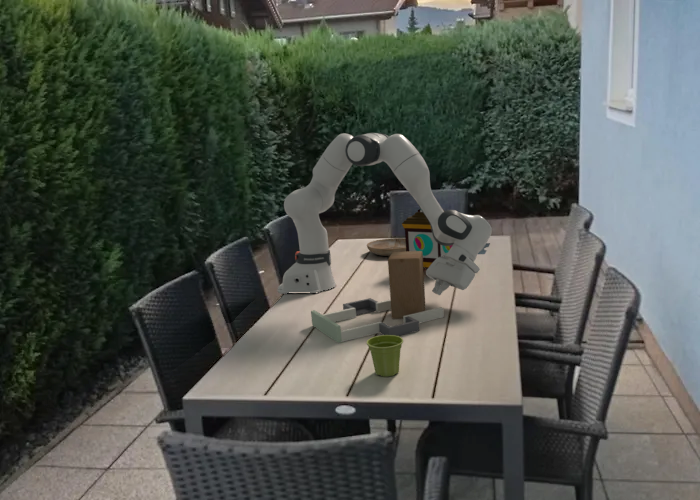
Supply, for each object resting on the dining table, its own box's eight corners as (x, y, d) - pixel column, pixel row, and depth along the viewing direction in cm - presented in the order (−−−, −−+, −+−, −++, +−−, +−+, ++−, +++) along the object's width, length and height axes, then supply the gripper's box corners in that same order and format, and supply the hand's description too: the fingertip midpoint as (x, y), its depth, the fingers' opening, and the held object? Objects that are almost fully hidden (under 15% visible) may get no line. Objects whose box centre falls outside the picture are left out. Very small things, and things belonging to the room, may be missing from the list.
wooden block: (422, 319, 218) (419, 257, 213) (391, 319, 220) (387, 258, 216) (425, 309, 227) (422, 250, 223) (395, 309, 229) (392, 251, 225)
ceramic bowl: (403, 261, 296) (403, 249, 295) (357, 257, 309) (357, 247, 308) (428, 249, 315) (427, 238, 314) (384, 246, 328) (383, 236, 327)
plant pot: (367, 367, 182) (364, 336, 180) (402, 363, 183) (400, 333, 181) (371, 381, 173) (368, 349, 171) (408, 377, 174) (405, 345, 172)
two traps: (370, 306, 235) (370, 298, 234) (419, 330, 207) (418, 321, 207) (343, 312, 231) (342, 304, 230) (389, 338, 203) (388, 328, 202)
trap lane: (411, 303, 235) (411, 289, 234) (443, 317, 218) (442, 302, 217) (312, 325, 220) (310, 310, 218) (338, 342, 202) (336, 326, 201)
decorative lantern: (465, 266, 279) (462, 192, 273) (444, 278, 263) (441, 201, 257) (421, 263, 290) (417, 192, 284) (399, 274, 274) (394, 200, 268)
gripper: (435, 249, 237) (413, 281, 235) (471, 259, 219) (447, 294, 217) (447, 259, 240) (424, 291, 238) (483, 270, 222) (459, 305, 220)
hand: (435, 293), depth 227 cm, fingers closed
